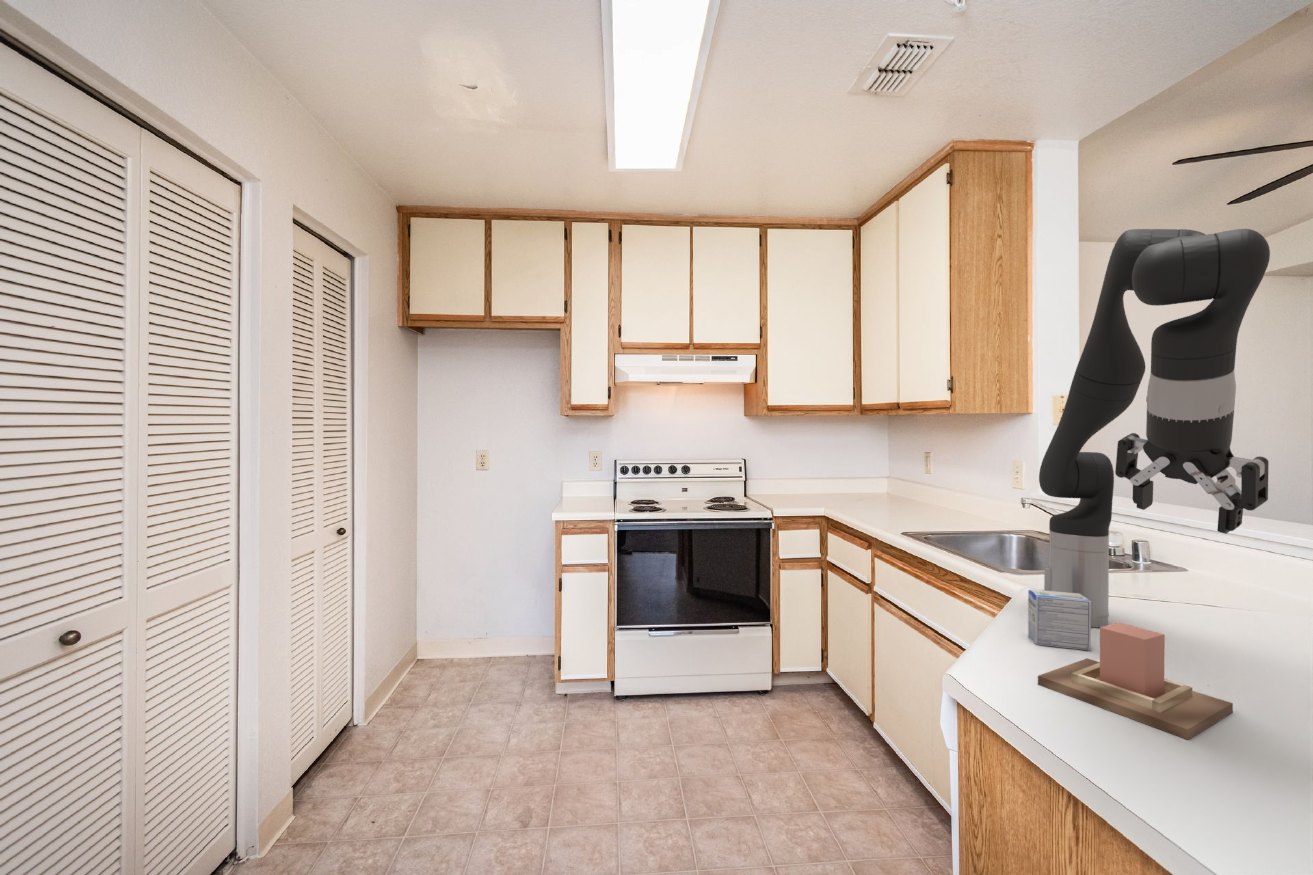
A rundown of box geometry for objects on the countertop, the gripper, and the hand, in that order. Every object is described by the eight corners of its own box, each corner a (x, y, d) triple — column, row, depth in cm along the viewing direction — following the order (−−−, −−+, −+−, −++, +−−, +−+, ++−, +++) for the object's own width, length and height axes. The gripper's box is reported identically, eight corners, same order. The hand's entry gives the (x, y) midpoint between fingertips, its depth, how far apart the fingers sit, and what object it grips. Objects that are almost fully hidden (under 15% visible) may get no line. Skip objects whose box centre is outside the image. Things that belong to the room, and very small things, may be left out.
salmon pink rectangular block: (1099, 684, 74) (1099, 627, 74) (1119, 678, 76) (1119, 622, 76) (1144, 701, 69) (1144, 639, 69) (1164, 693, 71) (1164, 634, 71)
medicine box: (1080, 642, 93) (1080, 593, 93) (1091, 651, 89) (1091, 600, 89) (1027, 636, 96) (1027, 588, 96) (1036, 645, 91) (1036, 595, 92)
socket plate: (1037, 683, 77) (1037, 667, 77) (1086, 665, 83) (1087, 650, 83) (1187, 739, 62) (1187, 719, 62) (1232, 712, 69) (1232, 693, 69)
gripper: (1291, 403, 59) (1276, 526, 64) (1139, 385, 72) (1137, 489, 77) (1250, 429, 57) (1238, 553, 62) (1102, 406, 70) (1103, 510, 75)
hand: (1182, 517), depth 70 cm, fingers open, 8 cm apart
